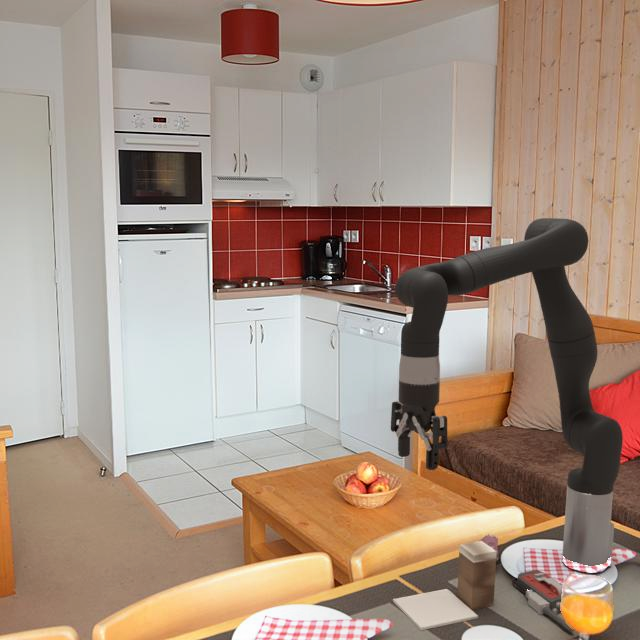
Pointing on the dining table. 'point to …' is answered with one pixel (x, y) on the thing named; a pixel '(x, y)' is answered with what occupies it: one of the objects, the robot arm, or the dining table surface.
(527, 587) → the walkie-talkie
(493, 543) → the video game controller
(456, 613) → the cream square tile
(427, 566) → the dining table surface
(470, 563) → the walnut block
